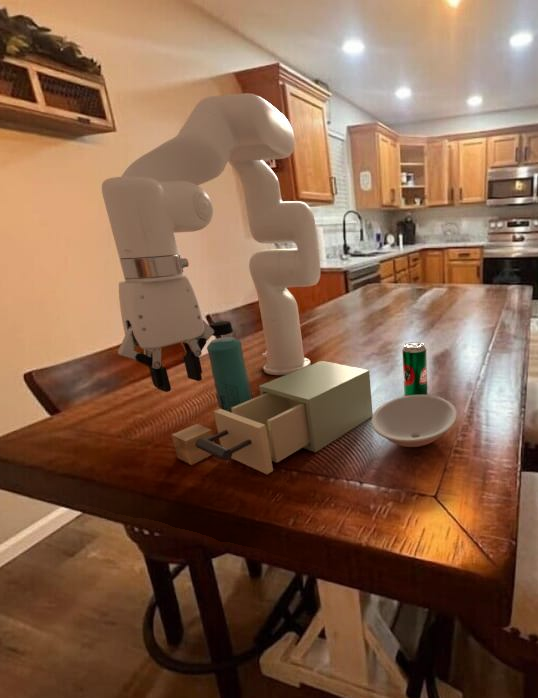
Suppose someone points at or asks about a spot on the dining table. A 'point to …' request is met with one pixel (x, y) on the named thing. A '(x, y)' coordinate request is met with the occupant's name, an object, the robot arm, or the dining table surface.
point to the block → (191, 443)
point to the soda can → (414, 369)
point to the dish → (414, 419)
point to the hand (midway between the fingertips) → (179, 383)
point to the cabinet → (327, 398)
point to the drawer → (259, 431)
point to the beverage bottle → (228, 368)
